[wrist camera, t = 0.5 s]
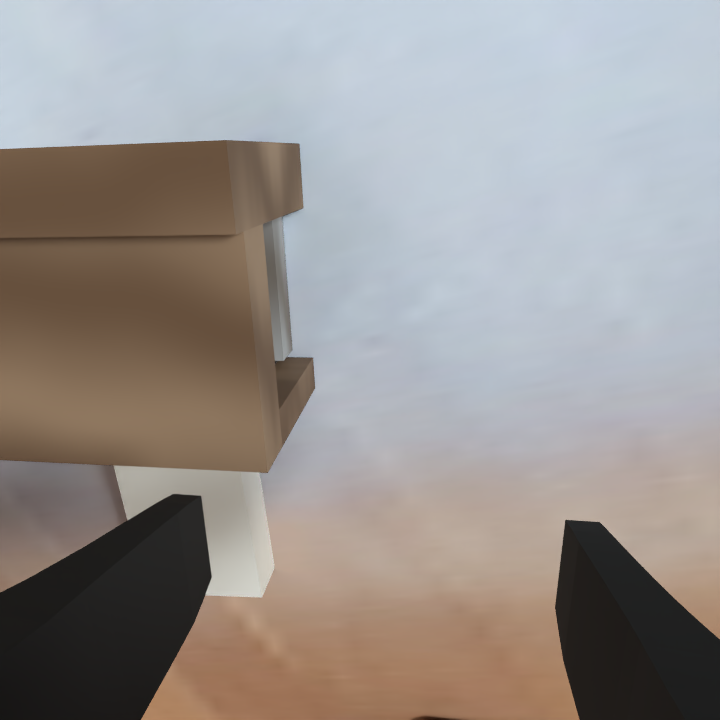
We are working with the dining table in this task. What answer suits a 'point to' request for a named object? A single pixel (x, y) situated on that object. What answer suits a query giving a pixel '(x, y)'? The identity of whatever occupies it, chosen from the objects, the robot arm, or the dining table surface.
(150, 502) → the tile
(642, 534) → the dining table surface
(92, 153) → the shelf
